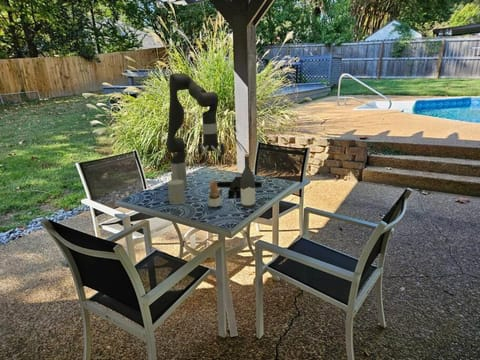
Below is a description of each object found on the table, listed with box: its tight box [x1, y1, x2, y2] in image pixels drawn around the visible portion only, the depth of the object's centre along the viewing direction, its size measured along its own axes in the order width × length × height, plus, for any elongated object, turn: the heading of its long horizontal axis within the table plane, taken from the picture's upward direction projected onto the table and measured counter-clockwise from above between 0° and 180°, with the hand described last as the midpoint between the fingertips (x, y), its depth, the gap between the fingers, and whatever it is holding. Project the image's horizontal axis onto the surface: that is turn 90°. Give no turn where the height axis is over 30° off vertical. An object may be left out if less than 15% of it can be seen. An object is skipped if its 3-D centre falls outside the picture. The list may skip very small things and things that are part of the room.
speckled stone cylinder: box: [166, 179, 187, 206], centre depth 187 cm, size 10×10×12 cm
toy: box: [216, 176, 263, 199], centre depth 204 cm, size 30×5×30 cm
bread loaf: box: [209, 180, 218, 199], centre depth 175 cm, size 4×4×12 cm
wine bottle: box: [240, 153, 256, 209], centre depth 175 cm, size 8×8×30 cm
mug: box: [206, 187, 223, 208], centre depth 180 cm, size 8×13×8 cm, turn 167°
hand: (212, 161), depth 170 cm, fingers open, 8 cm apart
